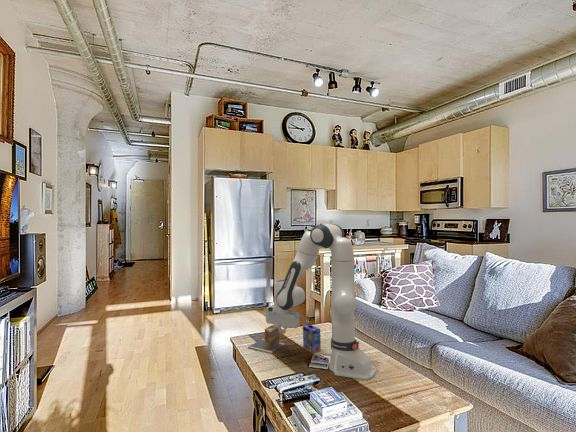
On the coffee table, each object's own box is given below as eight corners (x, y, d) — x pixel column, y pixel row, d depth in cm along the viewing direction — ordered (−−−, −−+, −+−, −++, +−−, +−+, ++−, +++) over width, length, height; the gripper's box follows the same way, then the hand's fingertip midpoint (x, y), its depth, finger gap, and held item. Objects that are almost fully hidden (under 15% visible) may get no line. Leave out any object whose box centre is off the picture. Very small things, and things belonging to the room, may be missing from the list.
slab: (279, 344, 190) (279, 325, 190) (270, 350, 182) (270, 330, 182) (273, 343, 192) (273, 324, 192) (264, 348, 184) (264, 328, 184)
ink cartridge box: (302, 347, 188) (302, 321, 188) (310, 344, 192) (309, 319, 192) (313, 352, 180) (313, 326, 180) (321, 350, 183) (320, 324, 184)
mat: (284, 345, 191) (284, 343, 191) (271, 353, 179) (271, 352, 179) (261, 340, 199) (261, 338, 199) (247, 348, 187) (247, 346, 187)
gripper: (301, 309, 182) (301, 334, 181) (270, 304, 192) (270, 328, 192) (296, 312, 176) (296, 338, 176) (264, 307, 186) (264, 332, 186)
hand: (282, 333), depth 184 cm, fingers closed
